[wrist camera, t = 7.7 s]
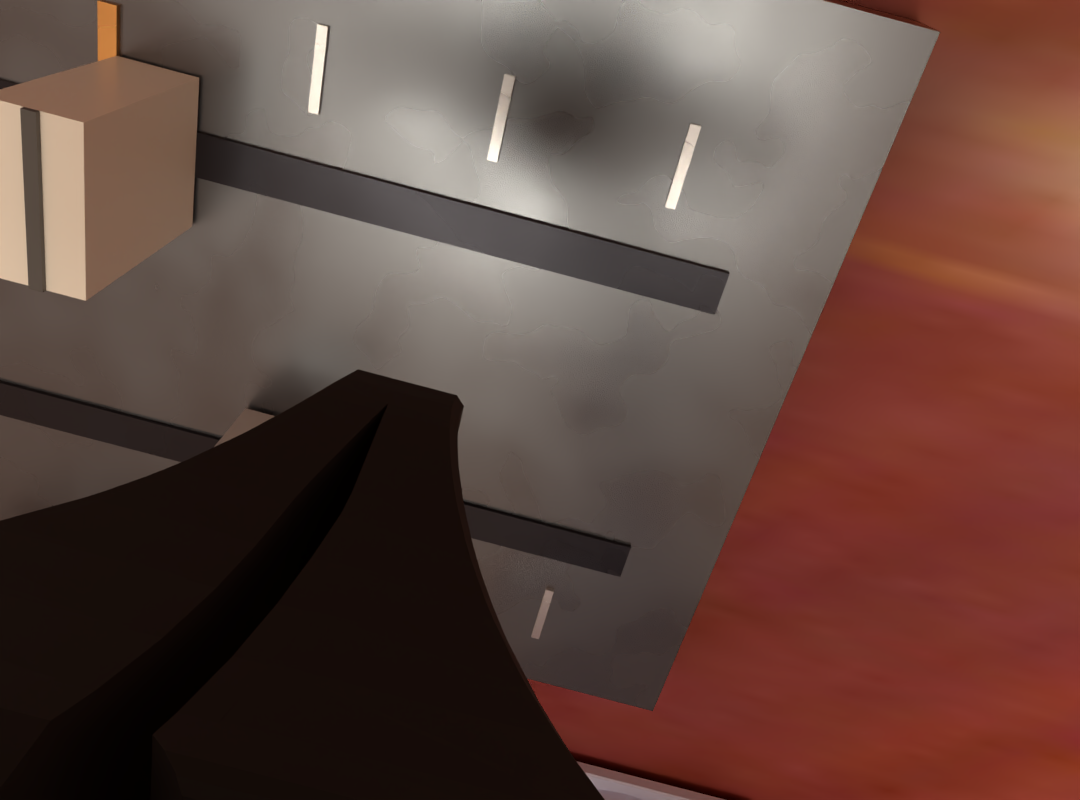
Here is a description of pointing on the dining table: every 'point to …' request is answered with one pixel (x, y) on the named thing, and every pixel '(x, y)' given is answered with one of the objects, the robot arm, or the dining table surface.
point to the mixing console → (482, 267)
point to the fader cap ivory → (94, 172)
